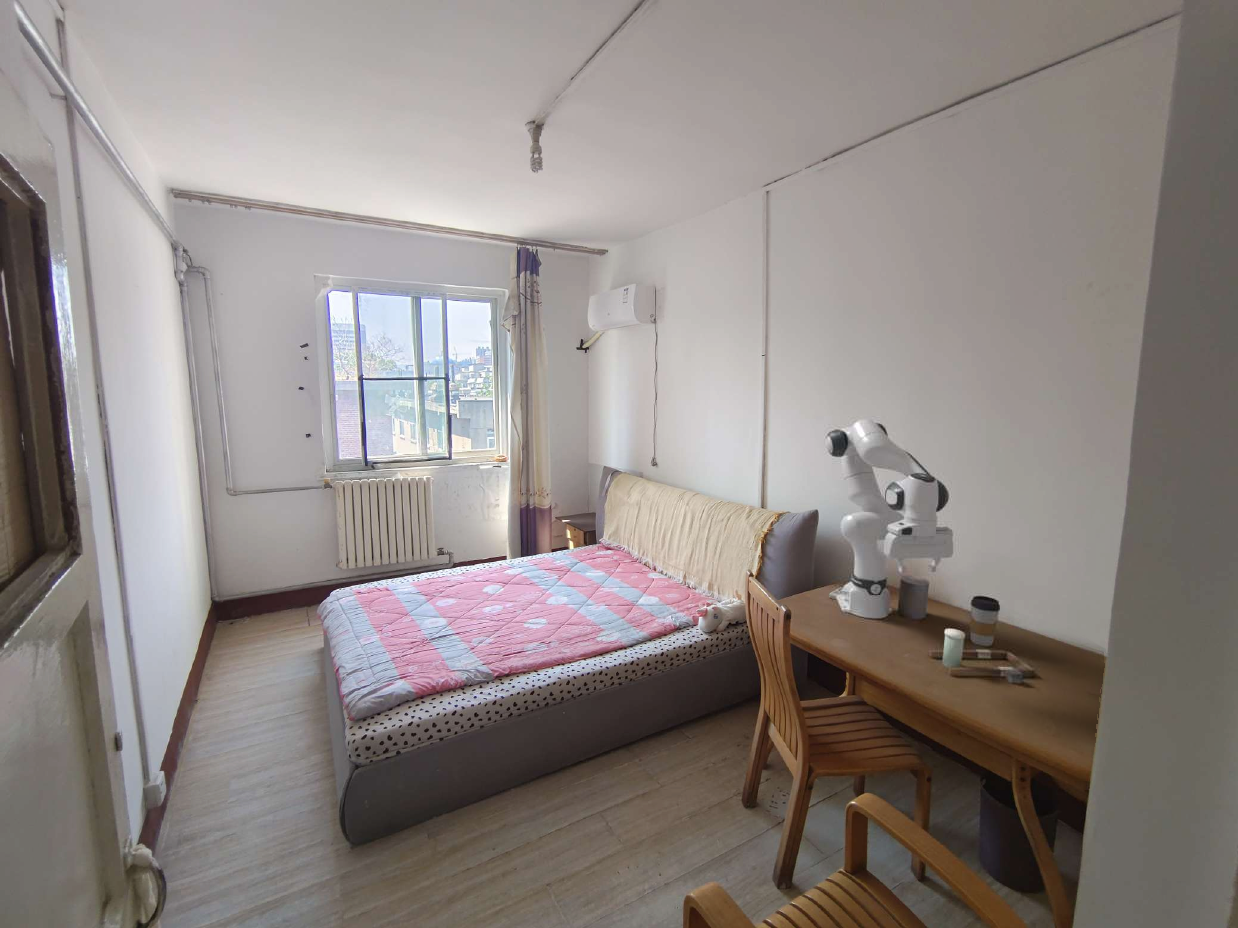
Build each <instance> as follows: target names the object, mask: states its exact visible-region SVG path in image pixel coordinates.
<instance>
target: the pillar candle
mask: <svg viewBox="0 0 1238 928" xmlns="http://www.w3.org/2000/svg"><path fill="white" fill-rule="evenodd" d="M929 586H930V581H929V580H928V579H927V578H926V577H922V576H919V575H913V574H912V575H911V574H907V575H905V574H904V575H901V576H900V581H899V590H898V592H899V593H898V601H897V610H896V612H897V613H898V614H899V615H900V616H903V617H904V618H907V619H912V620H923V619H925V618H926V615H927V607H928V606H927V605H928V596H929V588H930V587H929Z"/></svg>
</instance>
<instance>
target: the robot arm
mask: <svg viewBox="0 0 1238 928" xmlns="http://www.w3.org/2000/svg"><path fill="white" fill-rule="evenodd" d="M825 446H826V449H827V452H828V453H829V455H831V456H832V457H836V458H840V464H841V466H840V468H841V472H842V477H843V482H844V484H845V488H846V492H847V496H848V499H849V500H850V501H851V502H852V503H854V504H855V505H857V506H858V507H860V508H861V509H862V510H863V511H859V512H858V511H857V512H854V513H850V514H848V515H845V516H844V517H842V519H841V522H840V525H839V527H840V532H841V534H842V536H843V537H844V539H846V540H847V541H848V543H850V545H851V547H852V549H853V553H854V568H853V571H852V575H851V579H850V581H849V582H847V583H846V584H844V585H843V588H841V589H840V594H837V595H836V597H835V598H836V601H837V603H838V604H839V605H838V606H839V607H840V609H841V611H842V612H843V613H844V612H845V613H849V614H852V615H855V616H857V617H862V618H866V619H883V618H886V617H888V615H889V614H892V613H893V608H891V607H890V591H889V589H887V586H888V585H887V584H888V578H887V569H888V567H887V566H888V558H889V559H892V560H893V559H895V562H896V563H897V565H898V572H899V573H907V566H906V565H904V564H903V563H904V559H932V560H933V561H932V562H931V564H928V565H927V566H928V571H929V572H932V573H936V572H937V567H938V566H939V564H940V562H941V560H942V558H943V559H944V558H948V559H949V558H952V556H953V555H954V541H953V535H954V533H953V530H952V529H951V528H950V527H948V526H943V527H941V526H937V525H938V524H937V523H938V516H937V513H938V512H940V511H942V510H943V508H945V507H946V505H947V504H948V503H949V499H950V495H949V490H948V489H947V487H946V485H945V484H944V483H943V482H941V481H940V480H939V479H937V478H936V477H935V476H933V475H931V473H929V471H928V470H927V469H925V467H924V465H922V464H921V463H920V462H919V461H918V460H917V459H916V458H915V457H914V456H913V455H912V454H911V453H909V452H908V451H906V450H904V449H903V448H901V447H900V446H898V445H897V444H896V443H895V442H894V441H892V440H891V439H890V438H889V437H888V432H887V428H886V427H885V426H884V425H883V424H882V423H877V422H875V421H874V420H872V419H869V418H868V419H867V418H864V419H860V420H857V421H856V422H854V423H853V424H852V425H851V426H847V427H843V428H840V429H834V430H831V431H829V432H828V433H827V435H826V438H825ZM874 468H878V469H883V470H890V471H894V472H898V473H900V474H902V475H903V476H905V477H906V478H905V479H901V480H898V481H892V482H891V483H889V485H888V486H887V488H886V489H885V492H884V496H883V494H882V492H881V489H880V487H879V484H878V481H877V477H876V474H875V472H874ZM901 512H904V515H903V514H902V513H901ZM878 541H884V542H883V543H884V544H883V552H882V551H881V550H879V549H878Z"/></svg>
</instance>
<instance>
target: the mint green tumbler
mask: <svg viewBox="0 0 1238 928" xmlns="http://www.w3.org/2000/svg"><path fill="white" fill-rule="evenodd" d="M965 639H966V634H965V632H963V631H962V630H959V629H956V628H946V629H944V644H943V650H944V652H943V658H942V661H941V662H942V665H943V666H944V667H945V668H947V669H948V667H962V660H963V658H962V652H963V650H964V643H965V642H964V641H965Z"/></svg>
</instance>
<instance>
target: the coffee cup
mask: <svg viewBox="0 0 1238 928" xmlns="http://www.w3.org/2000/svg"><path fill="white" fill-rule="evenodd" d="M970 606H971V607H970V630H969V632H970V640H971V642H972V643H973V644H975V645H978V646H982V647H991V646H992V645H993V643H994V638H995V635H996V629H997V624H998V617H999V613H1000V610H1001V605H1000V601H999V600H997V599H995V598H993V597H989V596H983V595H975V596H972V599H971V601H970Z"/></svg>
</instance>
